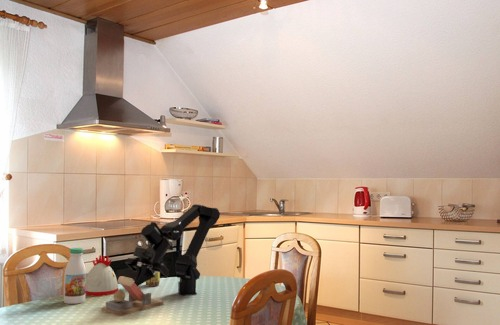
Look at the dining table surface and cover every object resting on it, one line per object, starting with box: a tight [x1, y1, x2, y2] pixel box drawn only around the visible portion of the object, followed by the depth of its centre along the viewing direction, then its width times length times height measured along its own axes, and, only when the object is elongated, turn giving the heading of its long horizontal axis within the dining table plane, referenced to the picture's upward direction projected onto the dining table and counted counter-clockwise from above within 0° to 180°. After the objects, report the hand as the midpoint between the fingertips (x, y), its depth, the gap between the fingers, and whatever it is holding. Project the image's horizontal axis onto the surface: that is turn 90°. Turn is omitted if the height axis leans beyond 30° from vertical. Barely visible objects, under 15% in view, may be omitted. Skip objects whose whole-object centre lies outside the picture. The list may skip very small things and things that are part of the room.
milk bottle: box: [62, 247, 87, 305], centre depth 176 cm, size 8×8×20 cm
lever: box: [117, 276, 145, 302], centre depth 169 cm, size 3×5×12 cm
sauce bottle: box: [145, 242, 161, 287], centre depth 206 cm, size 7×6×20 cm
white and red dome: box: [85, 254, 119, 297], centre depth 192 cm, size 14×14×15 cm
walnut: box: [113, 289, 126, 302], centre depth 164 cm, size 4×4×4 cm
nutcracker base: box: [101, 292, 164, 317], centre depth 169 cm, size 20×10×5 cm, turn 145°
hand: (134, 286), depth 170 cm, fingers closed, pressing on lever
